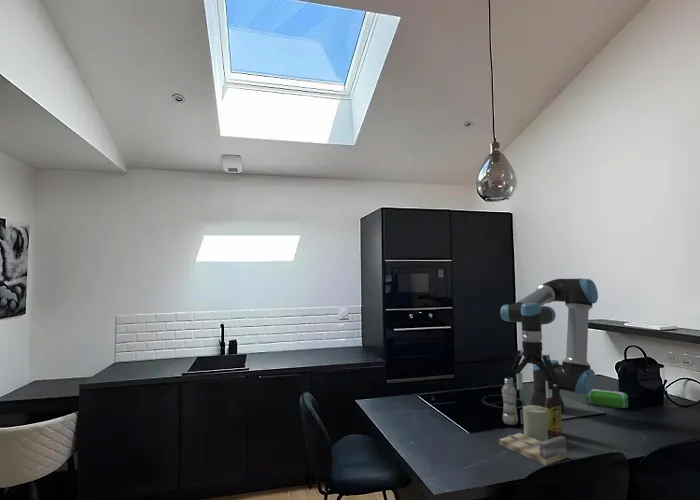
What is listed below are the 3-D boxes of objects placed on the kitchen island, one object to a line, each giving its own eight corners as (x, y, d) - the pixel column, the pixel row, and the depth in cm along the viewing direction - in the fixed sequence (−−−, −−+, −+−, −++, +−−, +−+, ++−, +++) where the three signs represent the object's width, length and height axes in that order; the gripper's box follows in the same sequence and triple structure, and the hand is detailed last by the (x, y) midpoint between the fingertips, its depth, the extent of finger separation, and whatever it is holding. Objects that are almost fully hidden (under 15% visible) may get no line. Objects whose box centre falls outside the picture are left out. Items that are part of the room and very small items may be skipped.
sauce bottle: (555, 437, 163) (553, 387, 164) (541, 432, 169) (539, 384, 170) (565, 434, 166) (563, 385, 167) (552, 429, 172) (550, 382, 173)
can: (519, 433, 168) (518, 404, 168) (540, 432, 168) (539, 403, 169) (531, 442, 158) (530, 411, 159) (553, 441, 159) (552, 410, 160)
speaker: (627, 406, 199) (626, 391, 199) (628, 410, 193) (627, 395, 193) (586, 401, 208) (585, 386, 208) (586, 405, 202) (585, 390, 202)
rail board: (499, 444, 157) (498, 426, 158) (519, 437, 163) (519, 420, 164) (545, 465, 140) (544, 444, 140) (566, 457, 146) (565, 437, 146)
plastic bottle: (517, 422, 180) (516, 377, 181) (518, 427, 174) (517, 381, 175) (502, 420, 182) (500, 376, 183) (503, 426, 176) (501, 379, 177)
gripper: (501, 337, 175) (502, 387, 173) (554, 346, 153) (556, 402, 152) (512, 336, 178) (514, 384, 177) (566, 344, 157) (568, 399, 155)
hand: (534, 393), depth 164 cm, fingers open, 13 cm apart
